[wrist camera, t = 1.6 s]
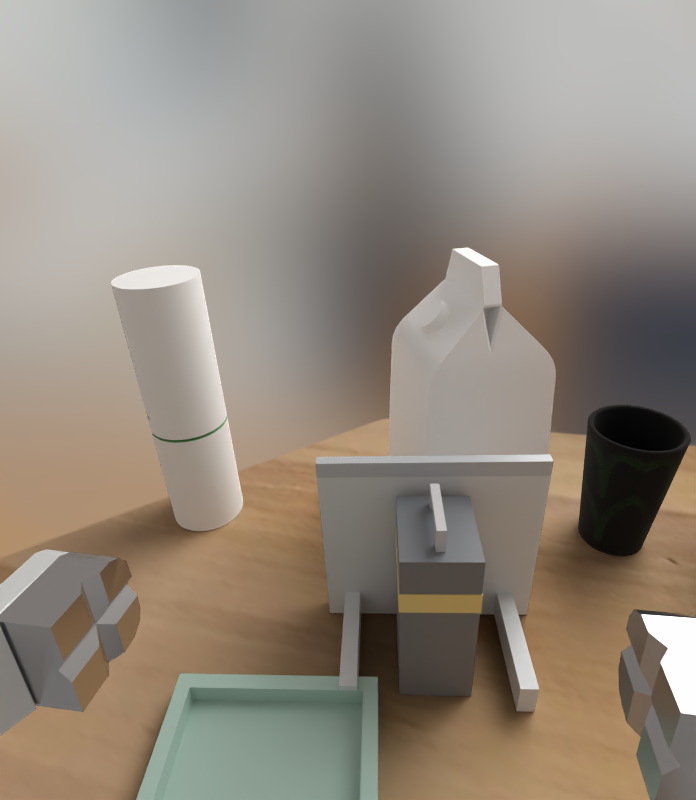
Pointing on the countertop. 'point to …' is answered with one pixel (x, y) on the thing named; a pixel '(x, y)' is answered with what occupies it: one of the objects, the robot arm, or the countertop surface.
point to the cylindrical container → (181, 391)
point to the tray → (266, 740)
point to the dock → (376, 541)
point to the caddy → (437, 593)
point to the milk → (468, 372)
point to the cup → (627, 474)
